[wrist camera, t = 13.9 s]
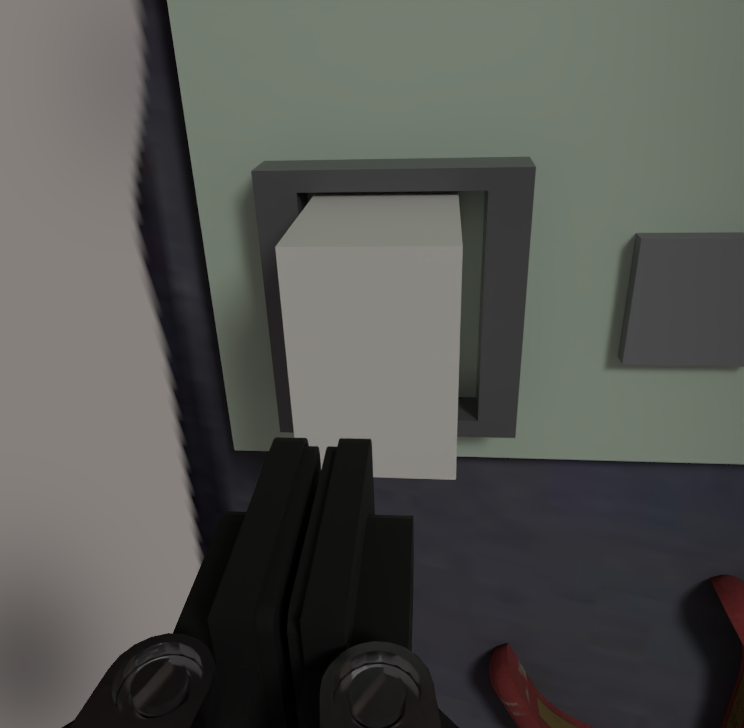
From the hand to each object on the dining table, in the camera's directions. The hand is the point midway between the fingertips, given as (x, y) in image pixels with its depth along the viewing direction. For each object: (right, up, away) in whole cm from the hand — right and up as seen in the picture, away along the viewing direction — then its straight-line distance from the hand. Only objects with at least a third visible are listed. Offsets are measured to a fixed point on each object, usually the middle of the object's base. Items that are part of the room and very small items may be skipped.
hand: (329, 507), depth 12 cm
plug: (+1, +5, +9) cm, 11 cm away
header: (+1, +5, +9) cm, 11 cm away
